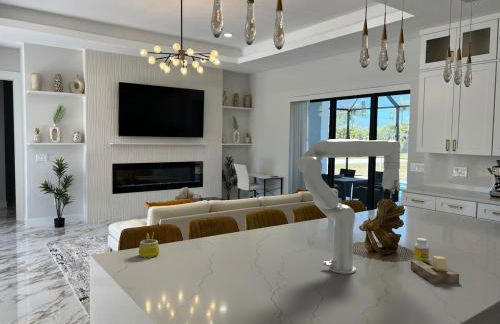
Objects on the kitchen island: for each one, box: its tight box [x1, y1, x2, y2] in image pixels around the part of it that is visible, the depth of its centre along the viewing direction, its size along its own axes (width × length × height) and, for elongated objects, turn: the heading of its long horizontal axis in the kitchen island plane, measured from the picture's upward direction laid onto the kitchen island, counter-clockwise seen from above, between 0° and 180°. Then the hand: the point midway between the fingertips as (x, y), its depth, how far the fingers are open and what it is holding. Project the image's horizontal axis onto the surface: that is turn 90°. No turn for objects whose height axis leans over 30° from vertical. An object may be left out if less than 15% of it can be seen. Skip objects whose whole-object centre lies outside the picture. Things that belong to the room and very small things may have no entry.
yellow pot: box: [138, 231, 160, 259], centre depth 207 cm, size 13×11×12 cm
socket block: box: [410, 259, 460, 285], centre depth 177 cm, size 12×20×4 cm, turn 3°
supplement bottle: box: [413, 237, 430, 261], centre depth 194 cm, size 7×7×13 cm
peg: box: [432, 255, 447, 272], centre depth 172 cm, size 4×4×10 cm
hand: (390, 200), depth 188 cm, fingers open, 9 cm apart
